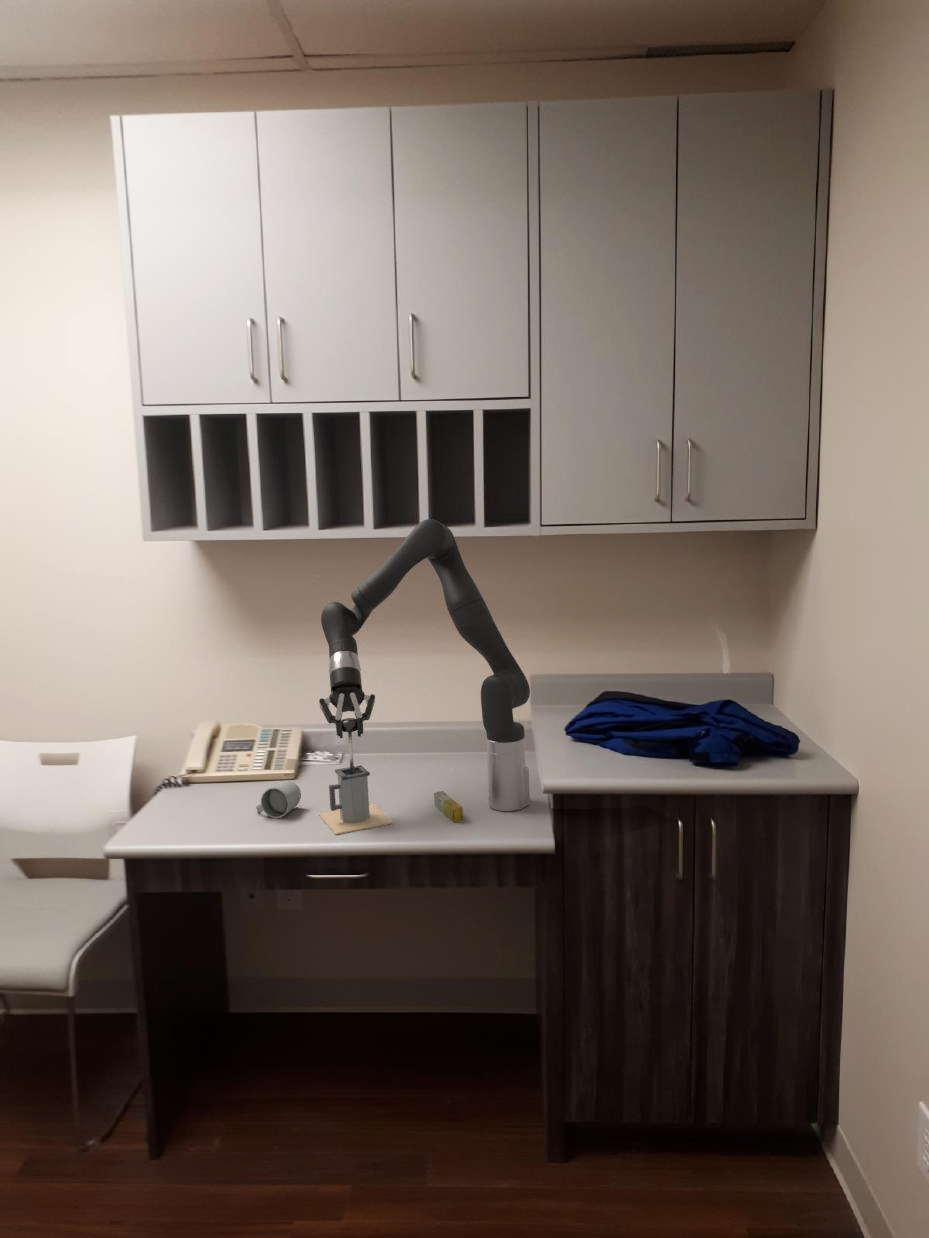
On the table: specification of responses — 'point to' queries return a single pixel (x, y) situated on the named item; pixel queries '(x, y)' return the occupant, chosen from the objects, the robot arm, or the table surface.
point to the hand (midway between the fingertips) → (350, 735)
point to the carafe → (352, 804)
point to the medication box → (448, 807)
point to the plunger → (350, 737)
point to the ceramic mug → (280, 799)
